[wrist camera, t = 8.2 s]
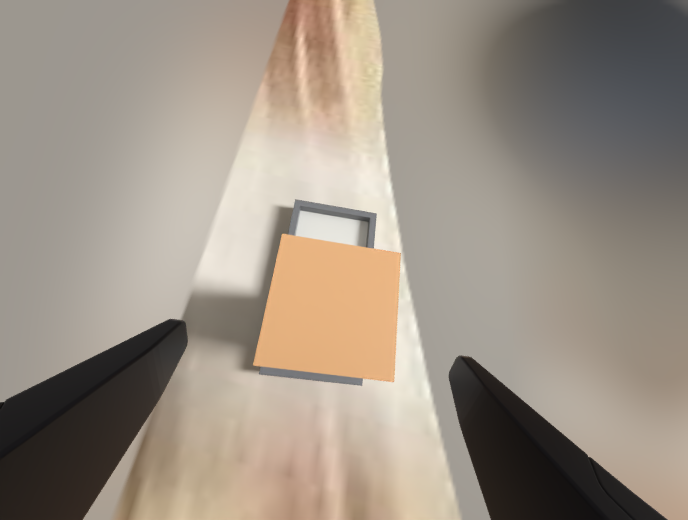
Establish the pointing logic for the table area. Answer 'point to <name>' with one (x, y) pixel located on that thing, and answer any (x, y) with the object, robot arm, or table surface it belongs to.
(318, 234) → the organiser
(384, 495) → the table surface
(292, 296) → the block
